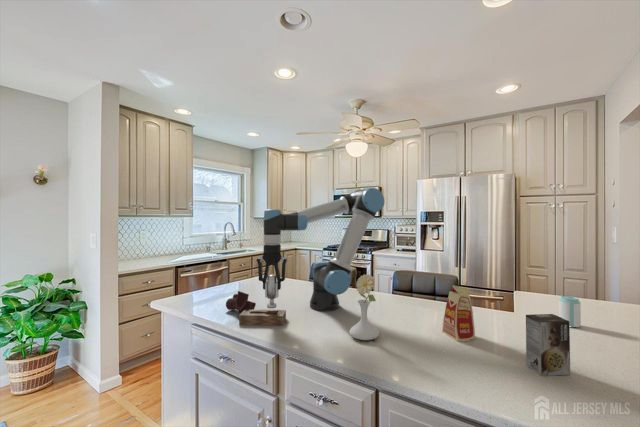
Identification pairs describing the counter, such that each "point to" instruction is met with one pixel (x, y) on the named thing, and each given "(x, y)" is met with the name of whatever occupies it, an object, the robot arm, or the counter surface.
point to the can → (570, 310)
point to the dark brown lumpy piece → (240, 302)
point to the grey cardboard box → (548, 344)
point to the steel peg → (271, 290)
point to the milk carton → (459, 315)
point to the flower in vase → (364, 310)
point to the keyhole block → (262, 317)
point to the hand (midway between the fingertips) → (271, 296)
